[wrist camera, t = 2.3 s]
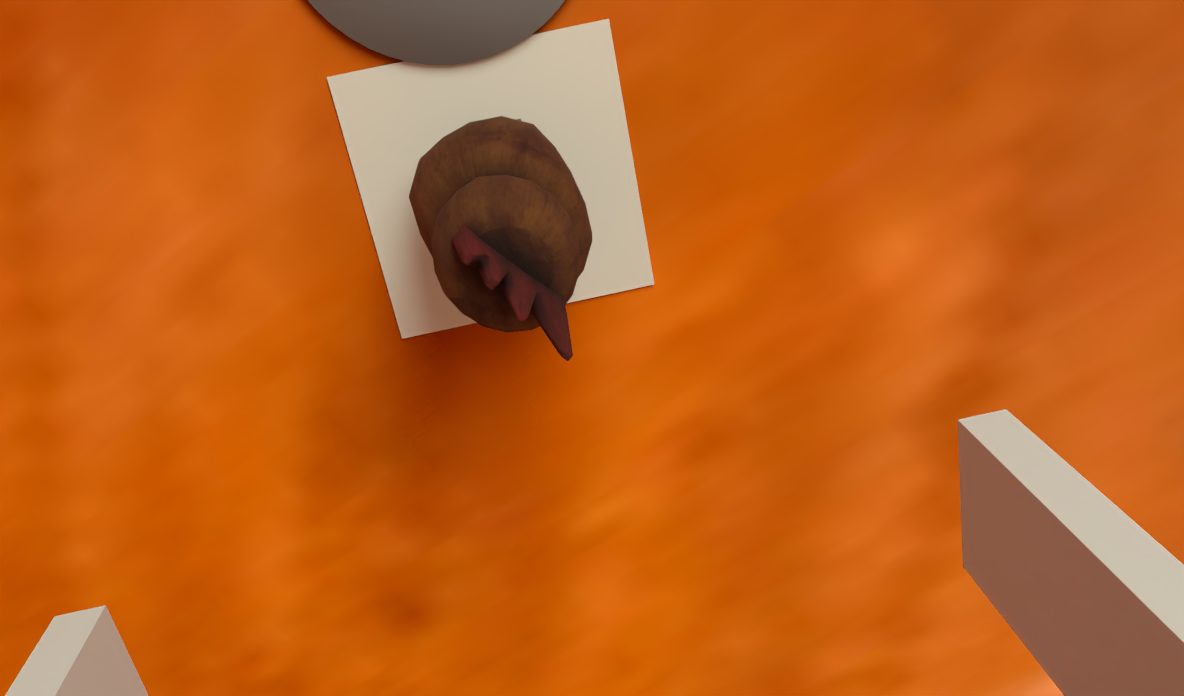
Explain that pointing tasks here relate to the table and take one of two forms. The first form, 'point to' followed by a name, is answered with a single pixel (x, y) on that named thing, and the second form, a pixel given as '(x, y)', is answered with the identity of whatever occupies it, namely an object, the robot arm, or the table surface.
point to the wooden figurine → (503, 226)
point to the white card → (481, 91)
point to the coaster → (437, 26)
